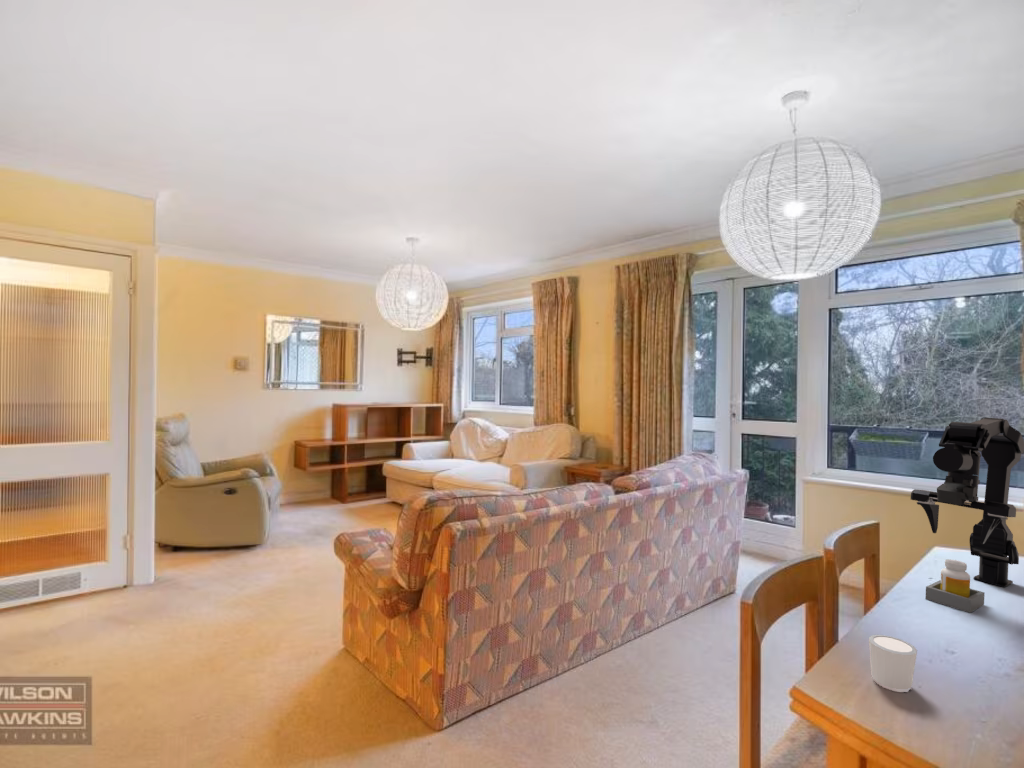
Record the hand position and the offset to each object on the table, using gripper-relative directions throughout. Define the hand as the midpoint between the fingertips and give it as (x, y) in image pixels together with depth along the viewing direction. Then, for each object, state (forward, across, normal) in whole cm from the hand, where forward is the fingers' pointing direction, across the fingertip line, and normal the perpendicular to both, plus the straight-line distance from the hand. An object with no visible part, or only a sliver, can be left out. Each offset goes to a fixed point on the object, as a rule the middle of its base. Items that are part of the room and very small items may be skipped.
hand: (957, 538), depth 126 cm
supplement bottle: (+16, 0, +1) cm, 16 cm away
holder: (+15, 0, +1) cm, 15 cm away
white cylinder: (+22, +8, -51) cm, 56 cm away
